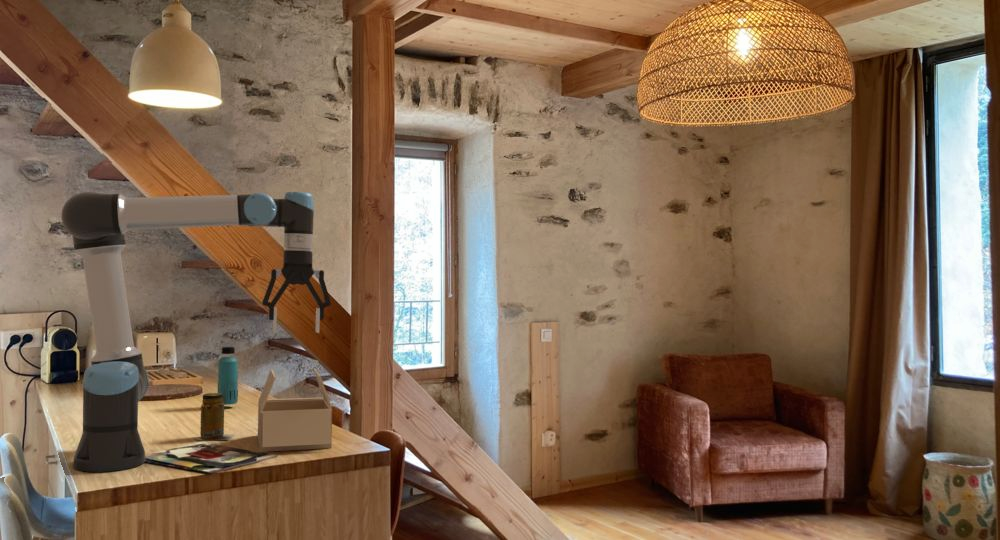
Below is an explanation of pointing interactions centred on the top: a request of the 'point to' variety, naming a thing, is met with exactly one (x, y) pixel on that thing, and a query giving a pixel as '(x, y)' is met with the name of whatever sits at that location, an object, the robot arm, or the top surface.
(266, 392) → the left flap
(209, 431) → the condiment
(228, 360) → the beverage bottle
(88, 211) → the robot arm
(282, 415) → the near flap
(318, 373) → the right flap
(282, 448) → the carton
